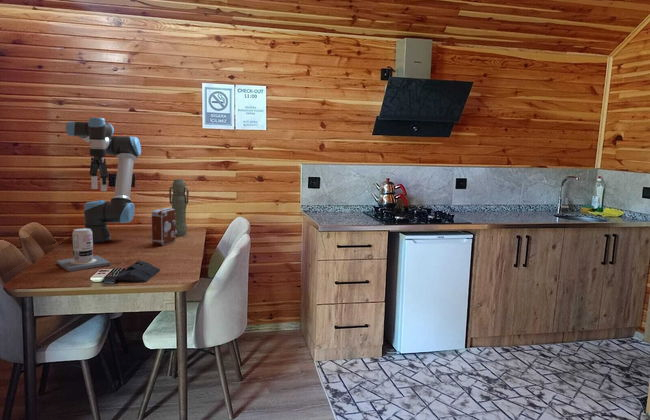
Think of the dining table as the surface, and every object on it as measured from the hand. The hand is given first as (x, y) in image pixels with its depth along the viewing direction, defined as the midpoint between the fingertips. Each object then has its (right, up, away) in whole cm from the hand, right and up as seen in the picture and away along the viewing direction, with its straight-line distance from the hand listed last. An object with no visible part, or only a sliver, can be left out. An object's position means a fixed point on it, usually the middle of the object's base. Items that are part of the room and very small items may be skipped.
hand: (99, 190), depth 244 cm
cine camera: (+24, -29, +33) cm, 50 cm away
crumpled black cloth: (+34, -40, -36) cm, 63 cm away
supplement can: (+3, -34, -21) cm, 40 cm away
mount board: (+3, -36, -21) cm, 42 cm away
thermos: (+24, -26, +56) cm, 66 cm away
